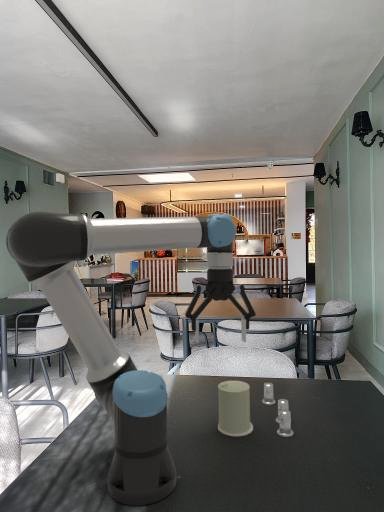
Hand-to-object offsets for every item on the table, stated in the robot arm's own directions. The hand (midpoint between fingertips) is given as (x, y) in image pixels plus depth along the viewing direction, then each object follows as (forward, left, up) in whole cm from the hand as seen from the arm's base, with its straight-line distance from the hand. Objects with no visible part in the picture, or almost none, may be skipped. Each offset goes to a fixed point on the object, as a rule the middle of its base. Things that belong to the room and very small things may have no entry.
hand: (220, 341), depth 109 cm
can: (-1, -3, -24) cm, 25 cm away
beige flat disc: (-1, -4, -25) cm, 25 cm away
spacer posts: (+4, -11, -25) cm, 27 cm away
